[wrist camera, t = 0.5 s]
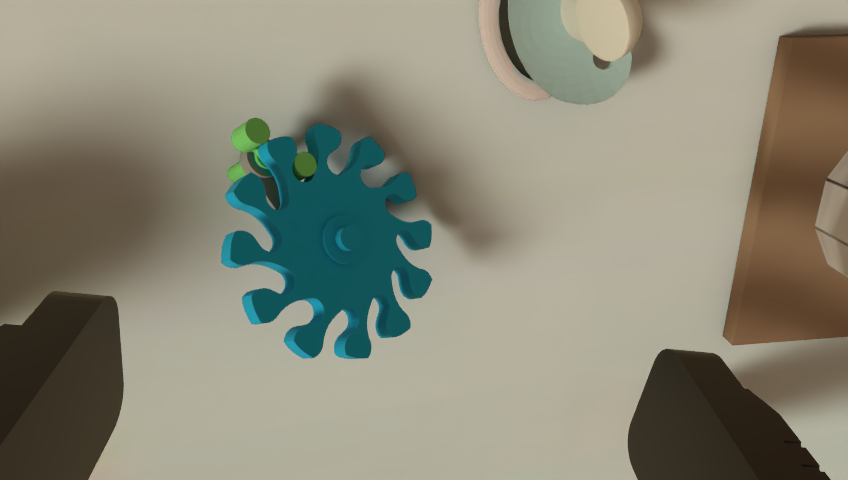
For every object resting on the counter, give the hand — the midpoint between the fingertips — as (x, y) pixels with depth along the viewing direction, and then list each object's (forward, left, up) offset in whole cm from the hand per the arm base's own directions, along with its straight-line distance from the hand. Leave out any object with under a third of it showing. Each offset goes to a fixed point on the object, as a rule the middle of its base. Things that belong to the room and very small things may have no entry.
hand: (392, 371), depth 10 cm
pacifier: (-3, +8, -21) cm, 23 cm away
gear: (+5, -2, -21) cm, 22 cm away
